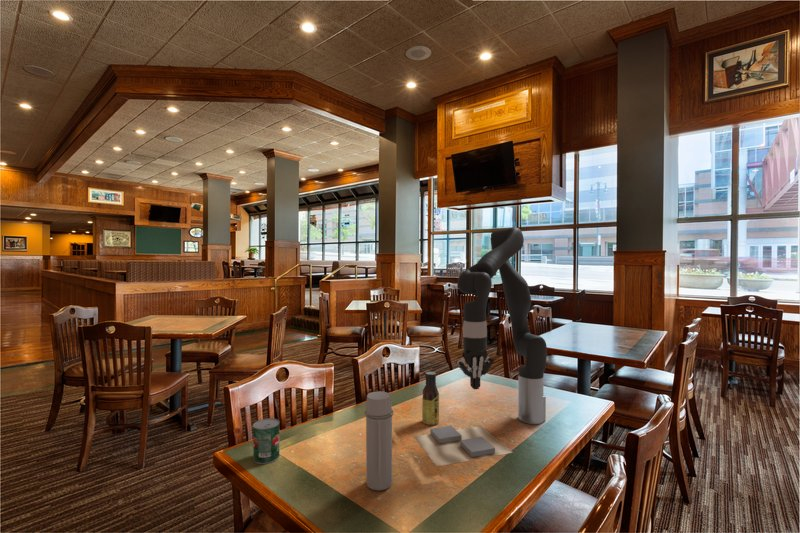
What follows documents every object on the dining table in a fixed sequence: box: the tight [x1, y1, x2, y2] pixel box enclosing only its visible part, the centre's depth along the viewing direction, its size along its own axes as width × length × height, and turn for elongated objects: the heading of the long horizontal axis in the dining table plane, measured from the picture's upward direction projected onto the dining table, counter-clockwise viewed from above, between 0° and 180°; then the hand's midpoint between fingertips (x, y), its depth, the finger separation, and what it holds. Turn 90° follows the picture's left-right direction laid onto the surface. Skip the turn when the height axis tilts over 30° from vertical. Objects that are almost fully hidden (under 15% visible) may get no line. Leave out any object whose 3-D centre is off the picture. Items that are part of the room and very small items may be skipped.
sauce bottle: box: [421, 371, 440, 427], centre depth 143 cm, size 7×6×20 cm
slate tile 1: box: [429, 425, 462, 444], centre depth 131 cm, size 2×8×8 cm
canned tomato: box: [252, 417, 281, 465], centre depth 121 cm, size 8×8×11 cm
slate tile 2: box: [460, 437, 495, 457], centre depth 122 cm, size 2×8×8 cm
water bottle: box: [364, 390, 394, 492], centre depth 105 cm, size 9×8×25 cm
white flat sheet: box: [413, 425, 514, 467], centre depth 126 cm, size 26×20×2 cm
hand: (475, 388), depth 122 cm, fingers closed
